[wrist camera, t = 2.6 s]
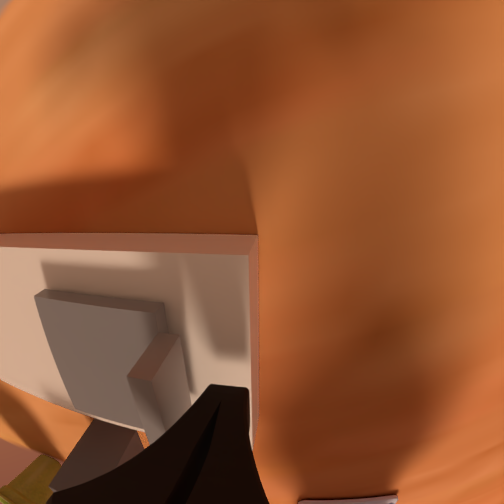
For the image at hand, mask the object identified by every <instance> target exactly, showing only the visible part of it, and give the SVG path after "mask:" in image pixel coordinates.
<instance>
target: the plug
mask: <svg viewBox="0 0 504 504" xmlns="http://www.w3.org/2000/svg"><path fill="white" fill-rule="evenodd" d="M143 450H144V447H143V445H142V443H141V440H140V438H139V435H138V433H137V430H134V429H130V428H126V427H123V426H119V425H115V424H112V423H109V422H105V421H102V420H99V419H96V418H94V420H93V421H92V423H91V424H90V426H89V427H88V428H87V430H86V431H85V433H84V434H83V436H82V437H81V438H80V440H79V441H78V443H77V444H76V446H75V447H74V449H73V450H72V452H71V453H70V455H69V456H68V457H67V459H66V460H65V462H64V463H63V465H62V466H61V468H60V469H59V471H58V472H57V474H56V475H55V477H54V478H53V480H52V481H51V483H50V484H49V486H48V487H49V488H50V489H51V490H52V491H53V492H57V491H61V490H64V489H67V488H70V487H73V486H76V485H79V484H82V483H85V482H87V481H90V480H92V479H94V478H96V477H98V476H100V475H103V474H105V473H107V472H109V471H111V470H113V469H115V468H116V467H118V466H120V465H122V464H123V463H125V462H126V461H128V460H130V459H131V458H133V457H134V456H136V455H137V454H139V453H140V452H141V451H143Z"/></svg>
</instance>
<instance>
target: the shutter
mask: <svg viewBox="0 0 504 504" xmlns="http://www.w3.org/2000/svg"><path fill="white" fill-rule="evenodd" d="M34 299H35V303H36V306H37V310H38V313H39V317H40V320H41V323H42V326H43V329H44V332H45V335H46V338H47V341H48V344H49V347H50V350H51V353H52V355H53V358H54V361H55V363H56V366H57V368H58V371H59V373H60V376H61V378H62V381H63V383H64V385H65V388H66V390H67V392H68V395H69V397H70V399H71V401H72V404H73V406H74V408H75V409H77V410H79V411H82V412H85V413H88V414H91V415H95V416H98V417H101V418H104V419H108V420H111V421H114V422H118V423H122V424H125V425H129V426H133V427H137V428H141V429H144V430H145V433H146V436H147V438H148V441H149V444H150V445H151V444H152V443H153V442H155V441H156V440H157V439H158V438H159V437H160V436H161V435H163V434H164V433H165V432H166V431H167V430H168V429H169V428H170V427H171V426H173V425H174V424H175V423H176V422H177V421H178V420H179V419H180V418H181V416H182V415H183V414H184V413H185V412H186V411H187V410H188V409H189V408H190V407H191V406H192V404H191V398H190V393H189V387H188V382H187V376H186V370H185V364H184V358H183V351H182V345H181V338H180V335H179V334H170V333H169V332H168V326H167V320H166V313H165V306H164V302H154V301H143V300H133V299H124V298H114V297H105V296H97V295H88V294H80V293H73V292H65V291H58V290H50V289H44V290H42V291H41V292H39V293H38V294H36V295H35V296H34Z"/></svg>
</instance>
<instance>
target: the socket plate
mask: <svg viewBox="0 0 504 504" xmlns="http://www.w3.org/2000/svg"><path fill="white" fill-rule="evenodd" d="M44 289H50V290H58V291H65V292H73V293H80V294H88V295H97V296H105V297H114V298H124V299H133V300H143V301H154V302H164V306H165V313H166V320H167V326H168V332H169V333H170V334H179V335H180V338H181V345H182V351H183V358H184V364H185V370H186V376H187V382H188V387H189V393H190V398H191V404H192V405H193V404H194V402H195V401H196V400H197V399H198V398H199V397H200V395H201V394H202V393H203V392H204V390H205V389H206V388H207V387H208V386H209V385H210V384H218V385H227V386H237V387H246V388H248V389H249V394H250V430H249V437H250V442H251V447H252V450H253V447H254V441H255V436H256V430H257V425H258V419H259V286H258V235H238V234H176V233H3V234H0V379H1V380H2V381H4V382H6V383H8V384H10V385H12V386H14V387H16V388H18V389H21V390H23V391H25V392H27V393H29V394H32V395H34V396H36V397H39V398H41V399H44V400H46V401H49V402H51V403H54V404H56V405H59V406H61V407H64V408H67V409H69V410H72V411H75V412H78V413H81V414H84V415H87V416H90V417H93V418H96V419H99V420H102V421H105V422H109V423H112V424H115V425H119V426H123V427H126V428H130V429H134V430H138V431H142V432H145V430H144V429H141V428H137V427H133V426H129V425H125V424H122V423H118V422H114V421H111V420H108V419H104V418H101V417H98V416H95V415H91V414H88V413H85V412H82V411H79V410H77V409H75V408H74V406H73V404H72V401H71V399H70V397H69V395H68V392H67V390H66V388H65V385H64V383H63V381H62V378H61V376H60V373H59V371H58V368H57V366H56V363H55V361H54V358H53V355H52V353H51V350H50V347H49V344H48V341H47V338H46V335H45V332H44V329H43V326H42V323H41V320H40V317H39V313H38V310H37V306H36V303H35V299H34V296H35V295H36V294H38V293H39V292H41V291H42V290H44Z"/></svg>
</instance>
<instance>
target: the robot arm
mask: <svg viewBox="0 0 504 504" xmlns="http://www.w3.org/2000/svg"><path fill="white" fill-rule="evenodd" d="M249 430H250V394H249V389H248V388H246V387H237V386H227V385H218V384H210V385H209V386H208V387H207V388H206V389H205V390H204V392H203V393H202V394H201V395H200V397H199V398H198V399H197V400H196V401H195V402H194V404H193V405H192V406H191V407H190V408H189V409H188V410H187V411H186V412H185V413H184V414H183V415H182V416H181V418H180V419H179V420H178V421H177V422H176V423H175V424H174V425H173V426H171V427H170V428H169V429H168V430H167V431H166V432H165V433H164V434H163V435H161V436H160V437H159V438H158V439H157V440H156V441H155V442H153V443H152V444H151V445H150V446H148V447H147V448H146V449H144V450H143V451H141V452H140V453H139V454H137V455H136V456H134V457H133V458H131V459H130V460H128V461H126V462H125V463H123V464H122V465H120V466H118V467H116V468H115V469H113V470H111V471H109V472H107V473H105V474H103V475H100V476H98V477H96V478H94V479H92V480H90V481H87V482H85V483H82V484H79V485H76V486H73V487H70V488H67V489H64V490H61V491H57V492H54V493H53V494H52V495H51V496H50V498H49V499H48V500H47V502H46V504H269V502H268V499H267V497H266V495H265V492H264V489H263V486H262V483H261V481H260V478H259V474H258V471H257V468H256V464H255V460H254V456H253V452H252V447H251V442H250V437H249ZM397 501H398V496H397V495H391V496H383V497H373V498H362V499H347V500H303V501H300V502H298V504H395V503H396V502H397Z"/></svg>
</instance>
